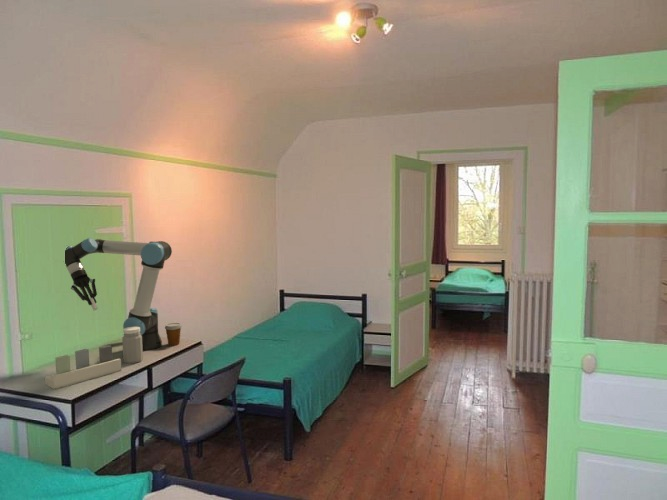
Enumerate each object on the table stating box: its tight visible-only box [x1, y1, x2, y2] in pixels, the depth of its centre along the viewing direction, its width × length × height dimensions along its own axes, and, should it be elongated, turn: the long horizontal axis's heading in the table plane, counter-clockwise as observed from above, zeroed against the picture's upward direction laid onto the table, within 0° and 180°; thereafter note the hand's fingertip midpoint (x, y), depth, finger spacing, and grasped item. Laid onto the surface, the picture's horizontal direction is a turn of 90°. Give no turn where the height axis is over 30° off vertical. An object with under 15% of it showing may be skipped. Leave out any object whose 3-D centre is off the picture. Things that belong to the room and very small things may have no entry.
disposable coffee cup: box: [164, 322, 182, 346], centre depth 282 cm, size 10×10×12 cm
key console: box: [44, 358, 122, 390], centre depth 227 cm, size 10×31×6 cm, turn 142°
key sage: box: [55, 354, 71, 375], centre depth 218 cm, size 3×5×12 cm, turn 142°
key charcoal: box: [98, 344, 114, 364], centre depth 234 cm, size 3×5×12 cm, turn 142°
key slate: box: [74, 348, 90, 370], centre depth 228 cm, size 3×5×12 cm, turn 142°
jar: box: [121, 327, 144, 365], centre depth 250 cm, size 10×10×18 cm
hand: (95, 309), depth 255 cm, fingers closed
